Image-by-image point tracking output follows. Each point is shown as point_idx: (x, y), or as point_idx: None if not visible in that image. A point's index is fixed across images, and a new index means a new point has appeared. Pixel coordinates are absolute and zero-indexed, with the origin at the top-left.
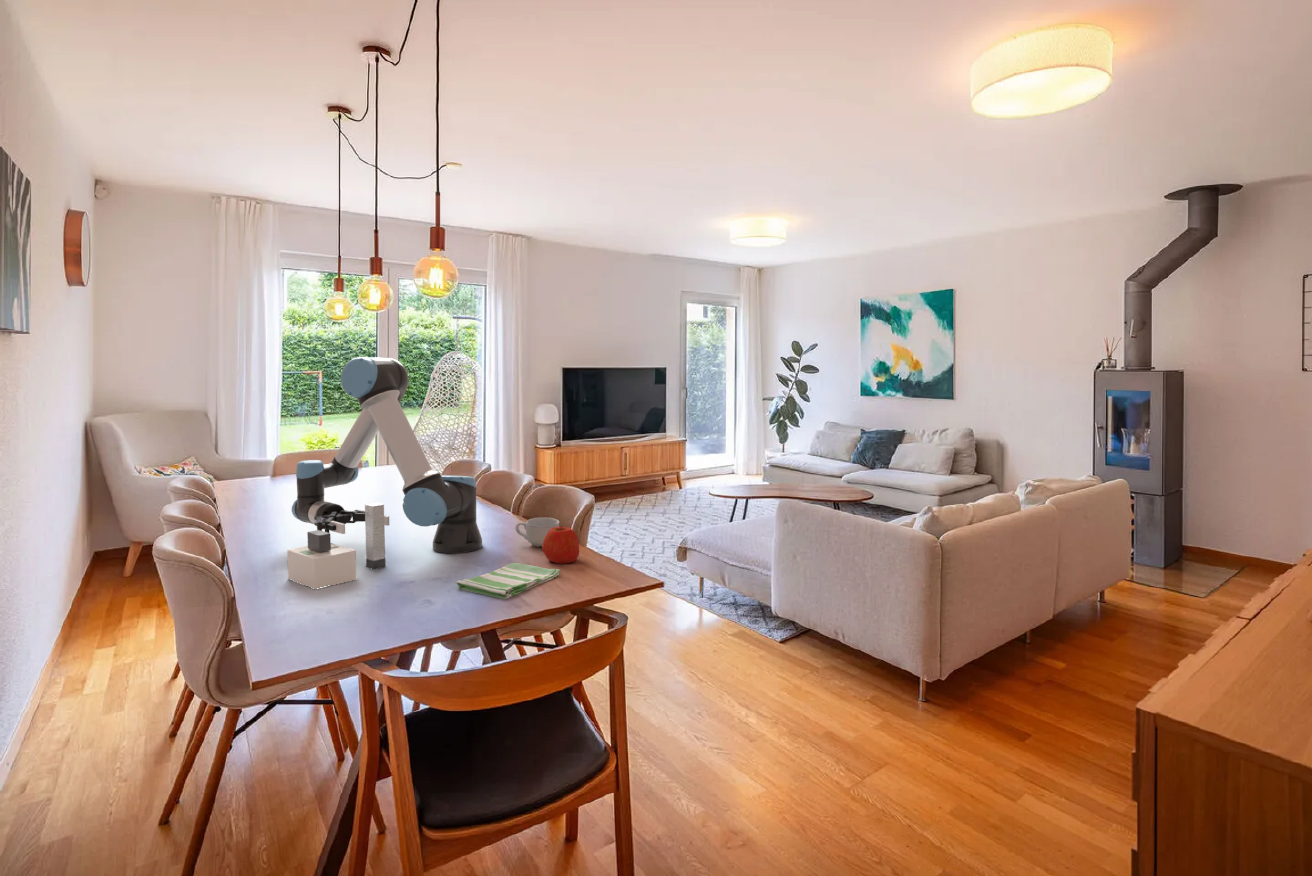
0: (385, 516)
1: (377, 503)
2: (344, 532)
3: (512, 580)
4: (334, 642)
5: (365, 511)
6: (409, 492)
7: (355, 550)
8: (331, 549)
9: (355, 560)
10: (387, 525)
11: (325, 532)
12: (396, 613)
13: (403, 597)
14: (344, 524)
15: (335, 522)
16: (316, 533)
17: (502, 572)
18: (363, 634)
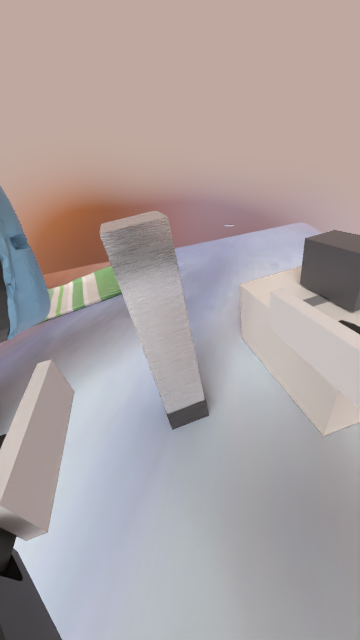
0: (48, 368)
1: (108, 227)
2: (272, 321)
3: (86, 287)
4: (264, 238)
5: (173, 251)
6: (2, 189)
7: (239, 284)
8: (301, 296)
9: (241, 304)
10: (72, 391)
11: (325, 242)
12: (212, 259)
13: (195, 279)
14: (272, 292)
15: (332, 320)
16: (353, 237)
17: (66, 306)
18: (243, 243)
